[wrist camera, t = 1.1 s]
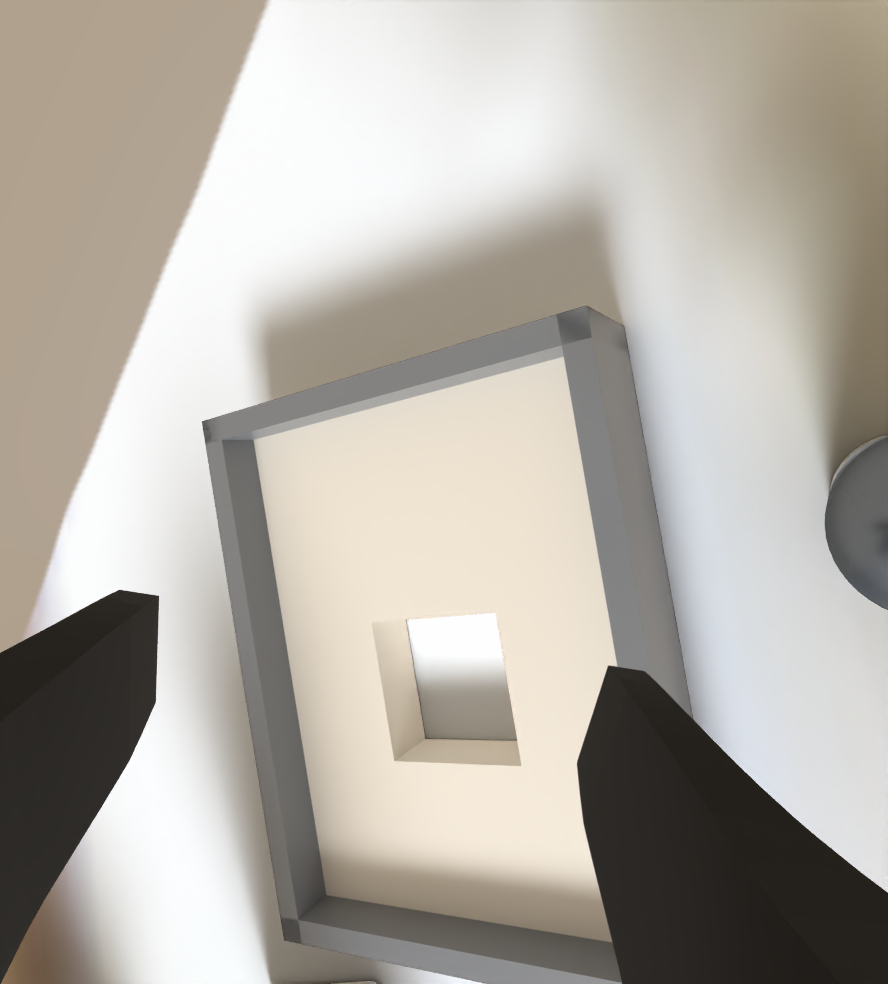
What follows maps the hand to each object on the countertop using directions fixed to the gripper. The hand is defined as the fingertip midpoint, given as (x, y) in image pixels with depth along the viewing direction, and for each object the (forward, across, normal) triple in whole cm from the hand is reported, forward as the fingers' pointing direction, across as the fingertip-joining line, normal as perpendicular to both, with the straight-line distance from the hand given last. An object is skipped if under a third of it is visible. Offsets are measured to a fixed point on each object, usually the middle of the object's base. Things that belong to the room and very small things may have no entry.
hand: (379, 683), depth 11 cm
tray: (+11, -3, +6) cm, 13 cm away
